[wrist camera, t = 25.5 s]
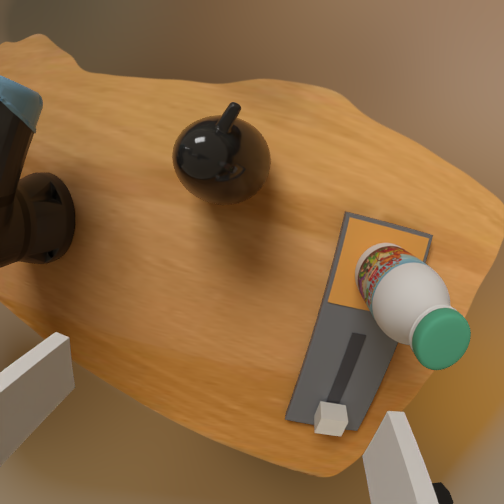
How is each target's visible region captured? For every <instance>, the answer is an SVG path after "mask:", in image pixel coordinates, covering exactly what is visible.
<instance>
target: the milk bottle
mask: <svg viewBox="0 0 504 504" xmlns="http://www.w3.org/2000/svg"><path fill="white" fill-rule="evenodd" d="M355 281H356V285H357V287H358V290H359V292H360V294H361V295H362V297H363V299H364V301H365V303H366V305H367V307H368V309H369V310H370V312H371V314H372V316H373V318H374V319H375V321H376V322H377V324H378V325H379V327H380V328H381V329H382V331H383V332H384V333H385V334H386V335H387V336H389V337H390V338H392V339H393V340H395V341H397V342H399V343H402V344H406V345H410V347H411V349H412V351H413V352H414V354H415V356H416V358H417V359H418V360H419V362H420V363H421V364H422V365H423V366H425V367H426V368H428V369H431V370H441V369H445V368H447V367H450V366H451V365H453V364H454V363H456V362H457V361H458V360H459V359H460V358H461V357H462V356H463V354H464V353H465V351H466V350H467V348H468V345H469V342H470V334H471V332H470V328H469V325H468V322H467V321H466V319H465V318H464V317H463V316H462V315H461V314H460V313H459V312H457V311H456V310H455V309H454V308H453V307H451V306H450V297H449V293H448V290H447V287H446V285H445V284H444V282H443V280H442V279H441V277H440V276H439V275H438V274H437V273H436V272H435V271H434V270H433V269H432V268H430V267H429V266H428V265H427V264H425V263H424V262H422V261H421V260H420V259H418V258H417V257H415V256H414V255H412V254H411V253H409V252H408V251H406V250H405V249H403V248H401V247H400V246H398V245H395V244H392V243H379V244H376V245H374V246H372V247H370V248H368V249H367V250H366V251H365V252H364V253H363V254H362V255H361V257H360V258H359V260H358V262H357V265H356V268H355Z"/></svg>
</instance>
